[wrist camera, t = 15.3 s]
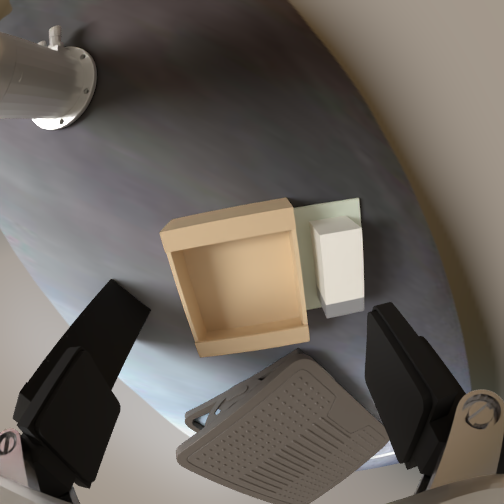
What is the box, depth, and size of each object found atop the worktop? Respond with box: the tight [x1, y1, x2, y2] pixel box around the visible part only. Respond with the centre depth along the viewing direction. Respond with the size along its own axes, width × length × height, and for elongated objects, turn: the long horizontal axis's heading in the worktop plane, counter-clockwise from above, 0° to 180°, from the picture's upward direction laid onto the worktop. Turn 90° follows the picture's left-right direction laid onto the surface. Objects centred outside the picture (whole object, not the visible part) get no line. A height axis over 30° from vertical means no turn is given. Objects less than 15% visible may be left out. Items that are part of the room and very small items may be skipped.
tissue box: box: [13, 279, 151, 422], centre depth 30 cm, size 8×8×28 cm
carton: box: [160, 198, 310, 357], centre depth 38 cm, size 18×15×6 cm
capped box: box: [309, 215, 364, 318], centre depth 37 cm, size 11×5×6 cm, turn 10°
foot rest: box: [176, 348, 389, 504], centre depth 48 cm, size 39×30×13 cm
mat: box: [293, 198, 361, 310], centre depth 40 cm, size 15×9×1 cm, turn 10°
